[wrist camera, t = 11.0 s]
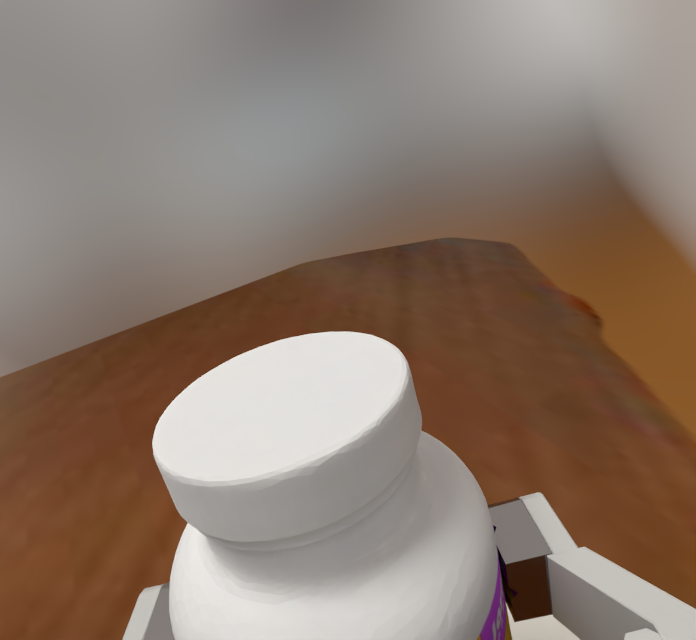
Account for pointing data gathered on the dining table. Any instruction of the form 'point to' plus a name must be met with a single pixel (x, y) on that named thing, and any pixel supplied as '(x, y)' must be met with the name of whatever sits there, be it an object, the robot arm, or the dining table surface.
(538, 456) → the dining table surface
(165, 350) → the dining table surface
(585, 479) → the dining table surface
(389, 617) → the supplement bottle
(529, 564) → the robot arm
